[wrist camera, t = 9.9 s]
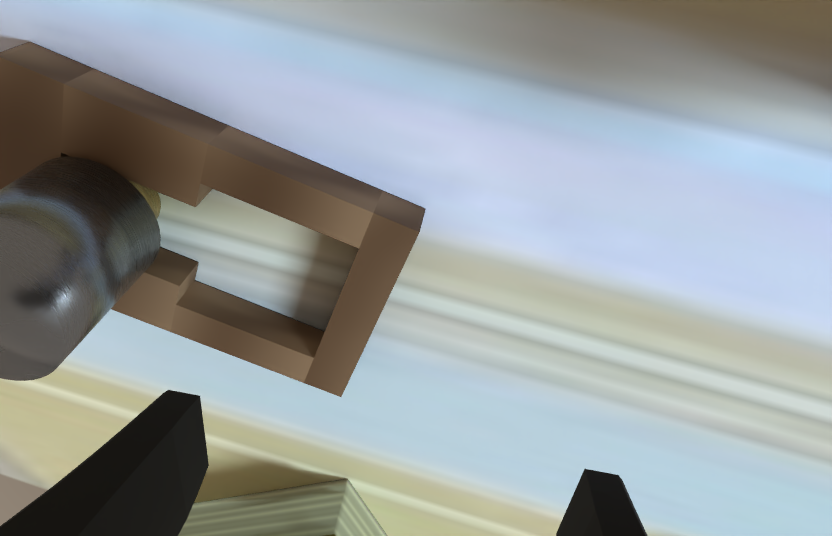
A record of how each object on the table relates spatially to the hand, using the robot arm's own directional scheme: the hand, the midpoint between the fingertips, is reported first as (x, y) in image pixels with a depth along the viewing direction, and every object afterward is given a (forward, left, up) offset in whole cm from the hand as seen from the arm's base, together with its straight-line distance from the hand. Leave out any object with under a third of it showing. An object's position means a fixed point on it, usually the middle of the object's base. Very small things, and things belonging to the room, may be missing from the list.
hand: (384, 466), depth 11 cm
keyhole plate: (+7, +4, -10) cm, 13 cm away
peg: (+10, +4, -10) cm, 15 cm away
